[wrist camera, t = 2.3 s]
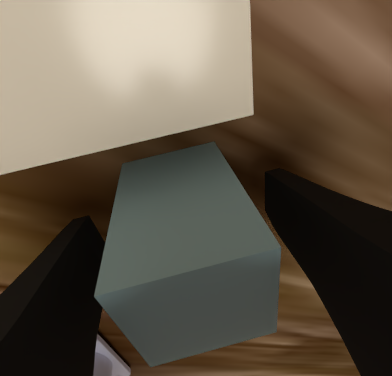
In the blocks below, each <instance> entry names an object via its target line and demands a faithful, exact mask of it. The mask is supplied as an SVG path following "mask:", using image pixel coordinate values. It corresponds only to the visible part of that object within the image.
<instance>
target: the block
mask: <svg viewBox="0 0 392 376" xmlns="http://www.w3.org/2000/svg"><path fill="white" fill-rule="evenodd" d="M280 257H281V246H280V245H279V243H278V242H277V240H276V238H275V237H274V235H273V234H272V232H271V231H270V229H269V227H268V226H267V224H266V223H265V221H264V219H263V218H262V216H261V215H260V213H259V212H258V210H257V208H256V207H255V205H254V204H253V202H252V200H251V199H250V197H249V196H248V194H247V193H246V191H245V189H244V188H243V186H242V185H241V183H240V182H239V180H238V178H237V177H236V175H235V174H234V172H233V170H232V169H231V167H230V166H229V164H228V163H227V161H226V159H225V158H224V156H223V155H222V153H221V151H220V150H219V148H218V147H217V145H216V144H215V142H210V143H206V144H202V145H198V146H194V147H190V148H185V149H181V150H177V151H173V152H169V153H165V154H160V155H156V156H152V157H148V158H144V159H140V160H135V161H131V162H127V163H123V164H122V168H121V172H120V177H119V182H118V186H117V191H116V196H115V200H114V205H113V210H112V214H111V219H110V224H109V228H108V233H107V238H106V243H105V247H104V252H103V257H102V261H101V266H100V271H99V275H98V280H97V285H96V289H95V294H94V297H95V298H96V300H97V301H98V302H99V303H100V305H101V306H102V307H103V308H104V310H105V311H106V312H107V313H108V315H109V316H110V317H111V318H112V320H113V321H114V322H115V323H116V325H117V326H118V327H119V328H120V330H121V331H122V332H123V333H124V335H125V336H126V337H127V338H128V340H129V341H130V342H131V343H132V345H133V346H134V347H135V348H136V350H137V351H138V352H139V353H140V355H141V356H142V357H143V358H144V360H145V361H146V362H147V363H148V365H149V366H150V367H153V366H157V365H160V364H164V363H167V362H171V361H175V360H178V359H182V358H185V357H189V356H192V355H196V354H200V353H203V352H207V351H210V350H214V349H217V348H221V347H225V346H228V345H232V344H235V343H239V342H242V341H246V340H250V339H253V338H257V337H260V336H264V335H267V334H271V333H275V332H276V331H277V312H278V294H279V275H280Z"/></svg>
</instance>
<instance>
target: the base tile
mask: <svg viewBox="0 0 392 376" xmlns="http://www.w3.org/2000/svg"><path fill="white" fill-rule="evenodd" d="M251 115H254V111H253V81H252V51H251V21H250V0H0V175H2V174H6V173H10V172H15V171H19V170H23V169H27V168H31V167H36V166H40V165H44V164H48V163H52V162H57V161H61V160H65V159H69V158H74V157H78V156H82V155H86V154H90V153H95V152H99V151H103V150H107V149H112V148H116V147H120V146H124V145H128V144H133V143H137V142H141V141H145V140H149V139H154V138H158V137H162V136H166V135H171V134H175V133H179V132H183V131H187V130H192V129H196V128H200V127H204V126H209V125H213V124H217V123H221V122H225V121H230V120H234V119H238V118H242V117H246V116H251Z"/></svg>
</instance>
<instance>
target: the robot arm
mask: <svg viewBox="0 0 392 376" xmlns="http://www.w3.org/2000/svg"><path fill="white" fill-rule="evenodd" d="M265 211H266V213H267V215H268V217H269V219H270V221H271V223H272V225H273V227H274V229H275V230H276V232H277V233H278V235H279V236H280V238H281V239H282V241H283V242H284V244H285V245H286V247H287V248H288V249H289V251H290V252H291V254H292V255H293V257H294V258H295V259H296V261H297V262H298V264H299V265H300V267H301V268H302V270H303V271H304V272H305V274H306V275H307V277H308V278H309V280H310V282H311V283H312V285H313V286H314V288H315V290H316V292H317V293H318V295H319V297H320V299H321V300H322V302H323V304H324V306H325V308H326V309H327V311H328V313H329V315H330V317H331V319H332V320H333V322H334V324H335V326H336V328H337V330H338V332H339V334H340V335H341V337H342V339H343V341H344V343H345V345H346V347H347V349H348V351H349V353H350V355H351V357H352V359H353V361H354V363H355V365H356V367H357V369H358V371H359V373H360V375H361V376H392V211H389V210H386V209H382V208H379V207H376V206H373V205H370V204H367V203H364V202H361V201H358V200H356V199H353V198H350V197H348V196H345V195H342V194H340V193H337V192H335V191H332V190H330V189H327V188H325V187H322V186H320V185H318V184H315V183H313V182H311V181H308V180H306V179H304V178H302V177H299V176H297V175H295V174H292V173H290V172H288V171H285V170H283V169H280V168H278V169H274V170H270V171H266V172H265ZM104 247H105V242H104V240H103V238H102V237H101V235H100V233H99V232H98V230H97V228H96V227H95V225H94V223H93V222H92V220H91V218H90V217H89V216H85V217H81V218H77V219H73V220H72V221H71V222H70V223H69V224H68V225H67V226H66V227H65V228H64V229H63V230H62V231H61V232H60V233H59V234H58V235H57V237H56V238H55V239H54V240H53V241H52V242H51V243H50V244H49V245H48V246H47V247H46V248H45V249H44V251H43V252H42V253H41V254H40V255H39V256H38V257H37V258H36V259H35V260H34V261H33V262H32V263H31V264H30V265H29V266H28V267H27V268H26V269H25V270H24V271H23V272H22V273H21V274H20V275H19V276H18V277H17V278H16V279H15V281H14V282H13V283H12V284H11V285H10V286H9V287H8V288H7V289H6V290H5V291H4V292H3V293H1V294H0V376H129V375H130V374H131V369H130V368H129V366H128V365H127V364H126V363H125V362H124V361H123V360H122V359H121V358H120V357H119V356H118V355H117V354H116V353H115V352H114V351H113V350H112V349H111V347H110V346H109V345H108V344H107V343H106V342H105V341H104V340H103V339H102V338H101V337H100V336H99V335H98V328H99V323H100V318H101V312H102V306H101V305H100V303H99V302H98V301H97V300H96V298H95V297H94V294H95V289H96V285H97V280H98V275H99V271H100V266H101V261H102V257H103V252H104Z"/></svg>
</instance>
